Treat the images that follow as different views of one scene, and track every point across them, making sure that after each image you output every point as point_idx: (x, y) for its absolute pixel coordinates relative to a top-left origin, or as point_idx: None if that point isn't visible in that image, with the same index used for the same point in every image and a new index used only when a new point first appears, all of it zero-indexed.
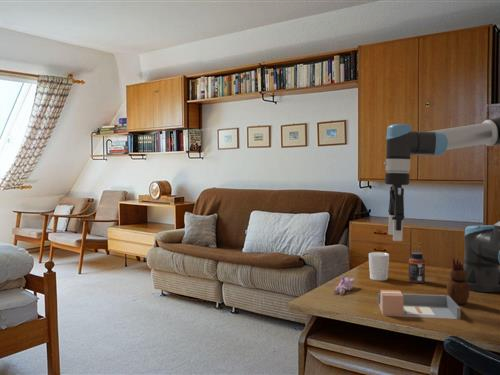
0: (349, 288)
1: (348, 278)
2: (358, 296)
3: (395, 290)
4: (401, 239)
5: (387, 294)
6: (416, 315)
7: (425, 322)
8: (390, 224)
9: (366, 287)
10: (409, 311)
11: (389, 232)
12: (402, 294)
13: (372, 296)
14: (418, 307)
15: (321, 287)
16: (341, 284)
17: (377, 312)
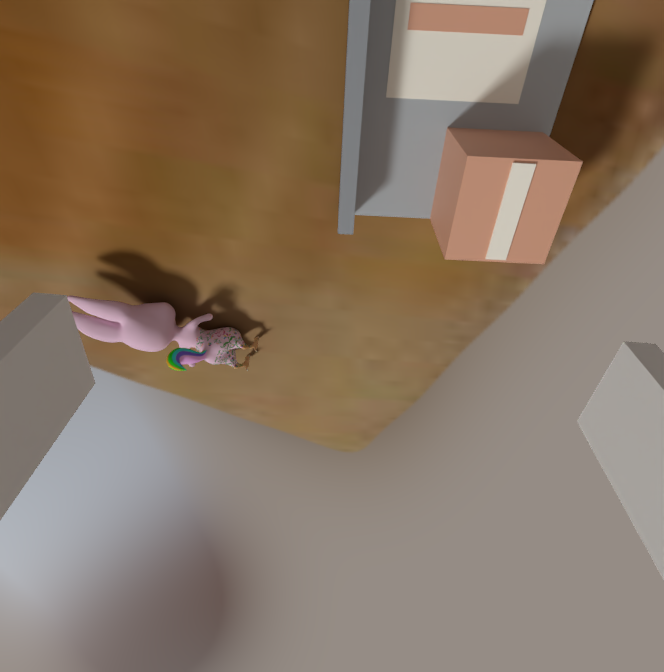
0: (174, 310)
1: (89, 322)
2: (245, 277)
3: (462, 183)
4: (662, 365)
5: (532, 239)
6: (552, 57)
7: (646, 28)
8: (4, 483)
9: (78, 225)
10: (486, 83)
11: (80, 393)
12: (549, 160)
13: (231, 219)
14: (424, 5)
15: (153, 386)
16: (205, 355)
17: None
